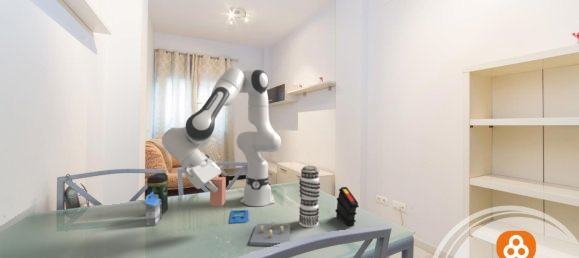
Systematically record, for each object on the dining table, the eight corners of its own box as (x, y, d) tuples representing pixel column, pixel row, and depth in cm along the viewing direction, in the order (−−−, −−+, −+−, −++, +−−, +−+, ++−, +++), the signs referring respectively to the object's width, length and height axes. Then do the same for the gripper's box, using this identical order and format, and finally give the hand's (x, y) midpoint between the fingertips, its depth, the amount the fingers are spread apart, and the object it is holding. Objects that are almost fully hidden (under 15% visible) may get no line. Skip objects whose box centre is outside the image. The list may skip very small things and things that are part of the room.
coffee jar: (153, 208, 120) (153, 171, 120) (169, 208, 121) (170, 171, 121) (143, 216, 111) (144, 175, 110) (161, 215, 112) (162, 175, 111)
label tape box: (155, 225, 101) (155, 196, 101) (144, 226, 100) (145, 196, 100) (162, 217, 109) (162, 190, 109) (152, 218, 109) (152, 191, 108)
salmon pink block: (214, 201, 97) (214, 176, 97) (225, 202, 97) (225, 177, 97) (209, 205, 92) (210, 179, 92) (221, 205, 92) (222, 179, 92)
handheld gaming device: (229, 222, 104) (231, 209, 119) (229, 224, 104) (231, 212, 119) (248, 221, 106) (248, 209, 121) (248, 223, 106) (248, 211, 121)
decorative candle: (293, 222, 107) (295, 166, 107) (308, 217, 113) (310, 164, 112) (308, 229, 100) (309, 169, 100) (323, 224, 106) (324, 167, 105)
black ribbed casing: (339, 210, 119) (346, 186, 112) (352, 232, 108) (361, 207, 101) (332, 211, 118) (339, 186, 111) (344, 233, 106) (354, 207, 100)
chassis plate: (257, 226, 102) (257, 217, 102) (290, 227, 102) (290, 218, 102) (249, 245, 86) (249, 235, 86) (288, 246, 86) (288, 236, 86)
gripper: (188, 161, 84) (216, 190, 84) (210, 154, 105) (232, 177, 104) (176, 174, 84) (203, 203, 84) (200, 164, 105) (222, 187, 105)
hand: (219, 188), depth 94 cm, fingers closed on salmon pink block, 5 cm apart
